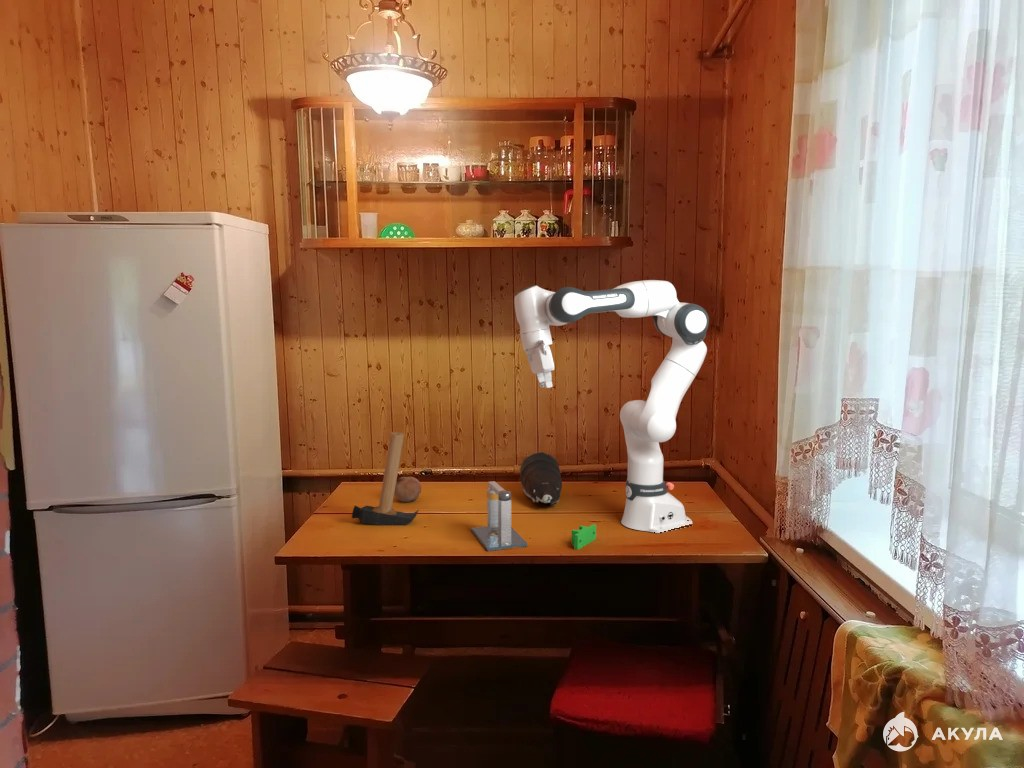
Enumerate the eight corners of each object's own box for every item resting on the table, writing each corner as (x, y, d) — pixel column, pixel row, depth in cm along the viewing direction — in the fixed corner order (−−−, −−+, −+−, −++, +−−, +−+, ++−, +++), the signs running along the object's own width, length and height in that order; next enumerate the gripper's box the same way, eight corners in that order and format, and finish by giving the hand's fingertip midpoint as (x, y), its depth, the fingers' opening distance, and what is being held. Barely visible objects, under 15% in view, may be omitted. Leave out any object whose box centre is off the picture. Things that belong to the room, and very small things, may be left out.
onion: (398, 511, 247) (385, 488, 243) (405, 496, 255) (392, 474, 252) (422, 503, 244) (409, 480, 241) (428, 489, 253) (416, 466, 249)
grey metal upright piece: (497, 527, 218) (497, 480, 216) (512, 543, 205) (512, 493, 202) (486, 528, 217) (485, 481, 215) (500, 544, 203) (500, 494, 201)
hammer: (415, 527, 228) (431, 437, 224) (413, 532, 223) (429, 441, 219) (354, 515, 228) (369, 426, 224) (351, 520, 223) (365, 429, 219)
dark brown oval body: (528, 479, 232) (522, 448, 256) (521, 520, 237) (515, 486, 261) (572, 484, 234) (562, 453, 258) (564, 524, 239) (555, 490, 262)
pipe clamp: (585, 537, 213) (585, 522, 213) (596, 539, 211) (596, 525, 211) (566, 547, 204) (566, 532, 204) (577, 550, 202) (577, 535, 202)
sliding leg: (497, 526, 218) (496, 487, 216) (500, 530, 215) (500, 490, 213) (487, 527, 217) (486, 488, 215) (490, 531, 214) (490, 491, 212)
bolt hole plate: (508, 526, 222) (508, 523, 222) (527, 546, 205) (527, 542, 205) (471, 530, 218) (471, 527, 218) (488, 551, 201) (487, 547, 201)
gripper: (553, 337, 198) (563, 385, 198) (541, 341, 218) (550, 385, 218) (532, 341, 197) (542, 389, 197) (521, 345, 217) (530, 389, 217)
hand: (546, 387), depth 208 cm, fingers open, 8 cm apart
